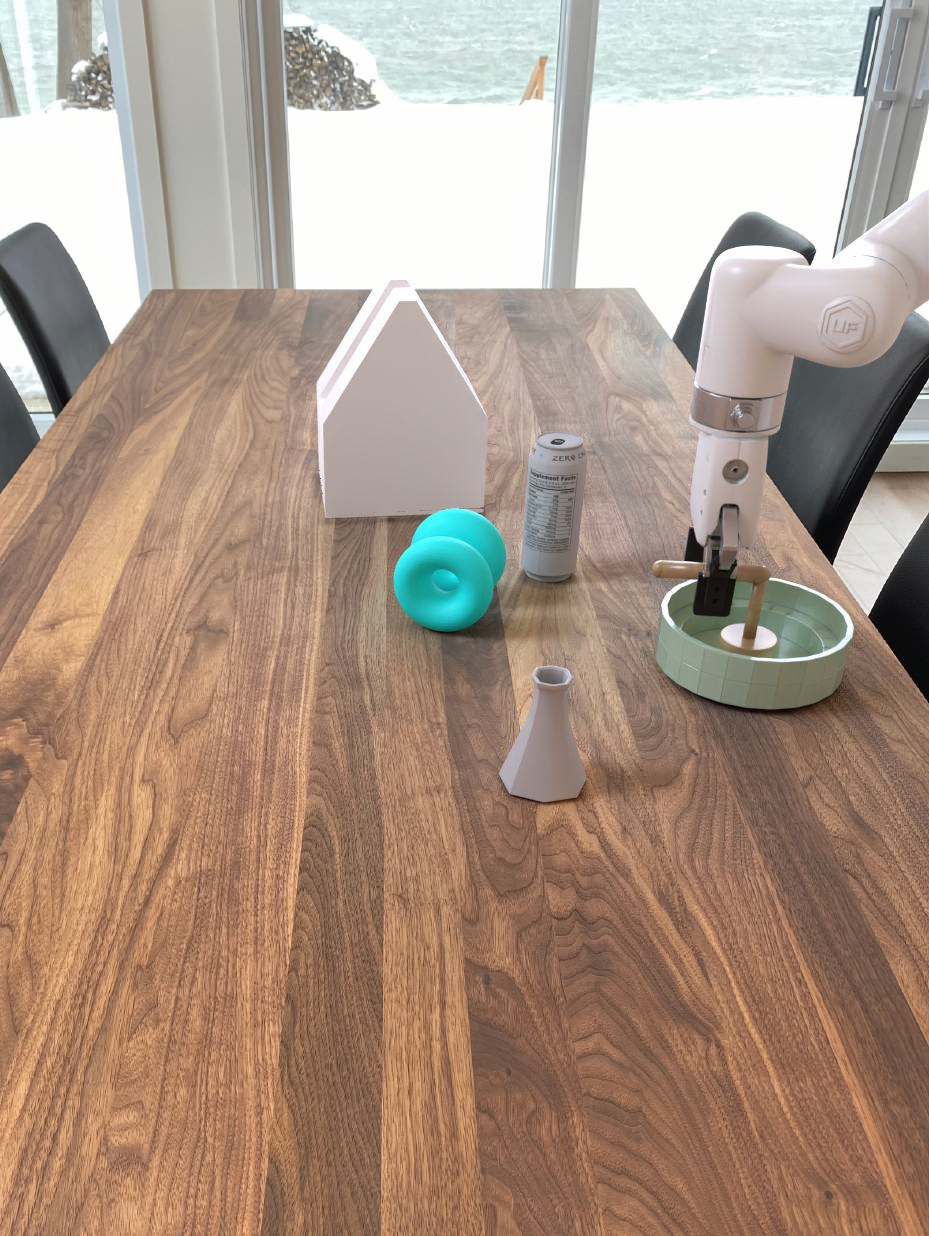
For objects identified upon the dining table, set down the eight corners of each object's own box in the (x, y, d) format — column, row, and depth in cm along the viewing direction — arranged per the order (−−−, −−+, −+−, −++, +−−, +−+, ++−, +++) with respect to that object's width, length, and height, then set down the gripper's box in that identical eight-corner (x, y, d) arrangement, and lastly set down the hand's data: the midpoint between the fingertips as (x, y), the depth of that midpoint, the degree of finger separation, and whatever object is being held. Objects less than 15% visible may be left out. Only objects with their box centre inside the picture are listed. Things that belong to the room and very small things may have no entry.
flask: (584, 756, 101) (596, 654, 95) (588, 807, 95) (601, 702, 89) (498, 751, 101) (505, 650, 96) (498, 802, 95) (505, 697, 90)
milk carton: (325, 518, 142) (319, 303, 128) (319, 471, 155) (313, 270, 141) (483, 512, 143) (495, 298, 129) (464, 465, 156) (473, 266, 142)
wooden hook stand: (768, 648, 114) (788, 555, 109) (776, 675, 110) (797, 580, 105) (638, 640, 116) (651, 548, 110) (641, 667, 112) (654, 573, 106)
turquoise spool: (505, 597, 125) (511, 509, 119) (487, 642, 117) (493, 550, 111) (413, 586, 127) (415, 499, 121) (389, 630, 119) (390, 538, 113)
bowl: (822, 628, 119) (834, 579, 116) (857, 721, 105) (871, 667, 102) (649, 618, 121) (656, 569, 118) (660, 707, 107) (668, 655, 104)
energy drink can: (583, 567, 131) (598, 435, 122) (562, 589, 126) (575, 453, 118) (533, 556, 133) (544, 426, 125) (511, 576, 129) (520, 443, 120)
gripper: (799, 444, 92) (759, 638, 102) (768, 377, 106) (735, 552, 116) (701, 440, 93) (670, 633, 102) (683, 374, 107) (657, 548, 117)
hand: (705, 590), depth 109 cm, fingers open, 9 cm apart
